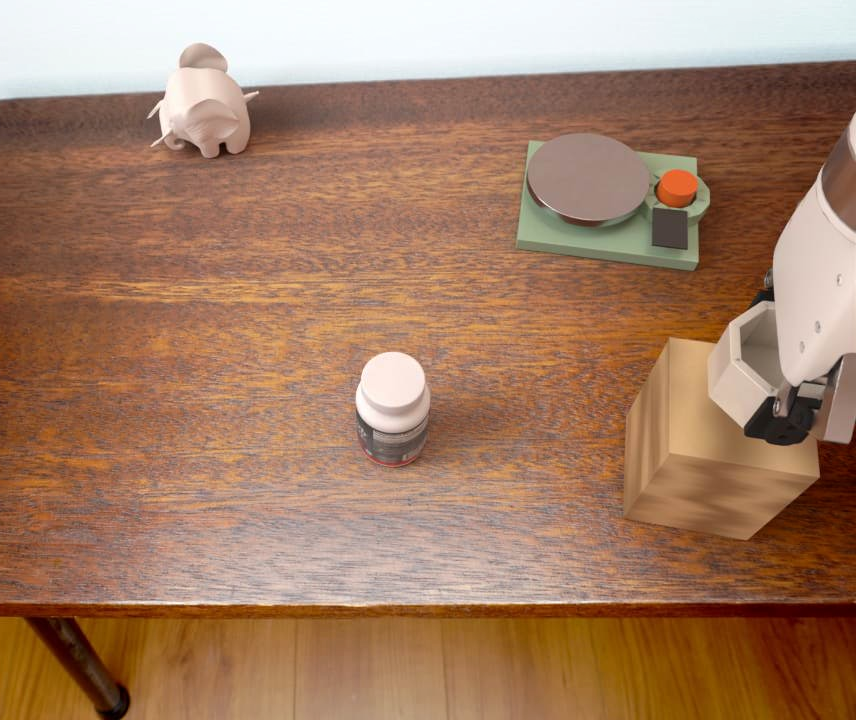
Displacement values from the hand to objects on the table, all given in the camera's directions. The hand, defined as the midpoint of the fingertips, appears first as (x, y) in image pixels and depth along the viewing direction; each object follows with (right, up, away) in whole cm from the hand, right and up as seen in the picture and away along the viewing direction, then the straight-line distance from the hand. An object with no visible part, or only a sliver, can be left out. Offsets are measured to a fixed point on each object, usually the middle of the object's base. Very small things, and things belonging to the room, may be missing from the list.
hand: (767, 381), depth 51 cm
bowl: (0, 0, +1) cm, 1 cm away
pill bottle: (-22, -5, +17) cm, 28 cm away
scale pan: (-1, +17, +25) cm, 30 cm away
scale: (0, +16, +28) cm, 32 cm away
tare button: (+5, +17, +25) cm, 30 cm away
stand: (+1, -8, +13) cm, 15 cm away
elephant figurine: (-40, +25, +36) cm, 59 cm away
